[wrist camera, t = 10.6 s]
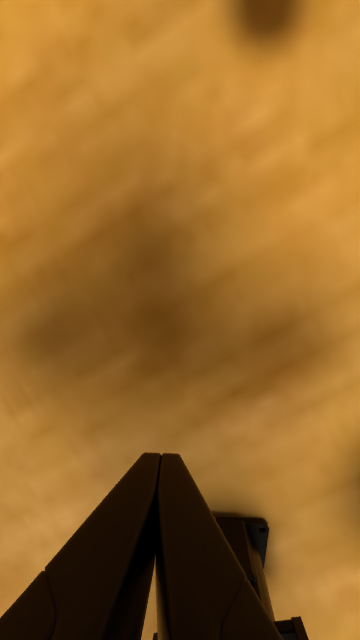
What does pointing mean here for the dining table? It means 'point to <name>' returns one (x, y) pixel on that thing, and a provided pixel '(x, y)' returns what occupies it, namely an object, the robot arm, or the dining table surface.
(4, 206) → the dining table surface
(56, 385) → the dining table surface
